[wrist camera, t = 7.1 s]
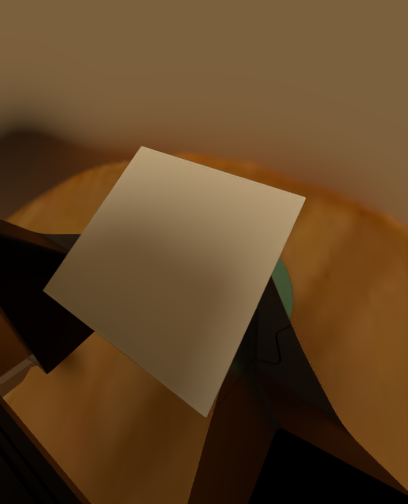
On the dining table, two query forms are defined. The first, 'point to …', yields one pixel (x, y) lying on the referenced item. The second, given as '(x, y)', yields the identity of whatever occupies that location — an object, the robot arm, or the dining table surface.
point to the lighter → (15, 376)
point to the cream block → (177, 268)
